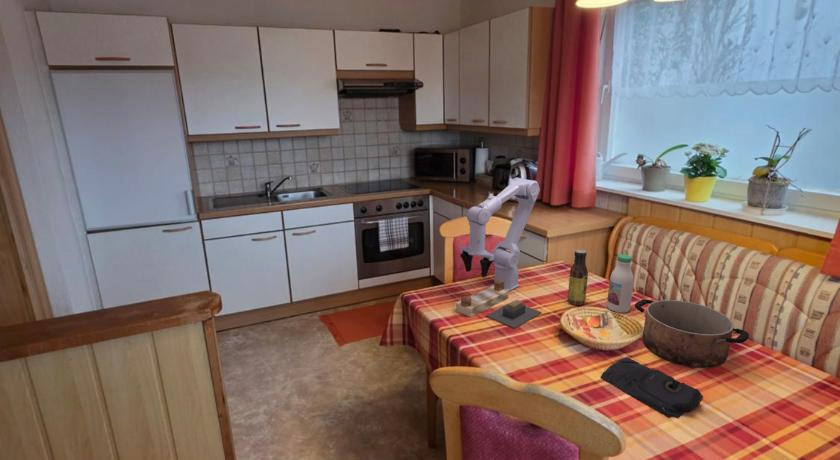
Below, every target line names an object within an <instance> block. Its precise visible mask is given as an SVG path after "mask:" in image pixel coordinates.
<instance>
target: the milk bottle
mask: <svg viewBox="0 0 840 460" xmlns="http://www.w3.org/2000/svg"><path fill="white" fill-rule="evenodd" d="M616 260H617V264H616V266H615V267H614V269H613V271H612V272H611V275H610V278H609V284H608V293H607V301H606V307H607V309H608V310H610V311H611V310H612V311H611V312H614V311H615V312H614V313H621V314H625V313H628V312H630V310H631V305H632V297H633V290H634V274H633V271H632V267H631V264H632V260H633V257H632V256H631V255H629V254H624V253H623V254H621V253H619V254H618V255H617V257H616Z"/></svg>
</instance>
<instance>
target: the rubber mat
mask: <svg viewBox="0 0 840 460" xmlns="http://www.w3.org/2000/svg"><path fill="white" fill-rule="evenodd" d="M508 304H509V303H507V304H505V305H504V306H506V305H508ZM504 306H502V307H500V308H498V309H495V310H494V311H492V312H490V313H488V314H486V315H485V318H488V319H491V320H493V321H495V322H498V323H500V324H502V325H505V326H507V327H510V328H512V329H514V330H515V329H517V328H519V327H520V326H522V325H524V324H525V323H528V322H529V321H531V320H533V319H534V318H537V317H538V316H540V315H541V314H542V311H539V310H537V309H535V308H531V307H529V306H526V307H525V313H524V314H522V315H520V316H519V317H517V318H515V319H511V318H509V317H506V316H504V315H503V307H504Z"/></svg>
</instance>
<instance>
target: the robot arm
mask: <svg viewBox="0 0 840 460" xmlns="http://www.w3.org/2000/svg"><path fill="white" fill-rule="evenodd" d="M540 191H541V189H540V185H539V182H538V181H536V180H532V179H525V178H520V177H514V178H513V179H512V180H510V181H509V185H507V186H506V187H505V188H504V189H503V190H502V191H500V192H499V193H498V194H497V195H496V196H495V195H489V196H487V199H485V200H484V201H483V202H480V203H479V204H478V205H477V206H476V205H475V206H472V207H470V208H469V209H468V211H467V214H466V219H467V221H468V225H469V245H468V246H466V245H462V246H460V250H459V251H460V252H461V253H460V254H459V256H460V258H461V260H462V261H463V265H464V268H465V272H467V273H468V272H471V271H472V265H473V264H472V263H473V259H474V258H473V257H474V256H476V257H479V258H481V259H479V263H480V268H481V270H480V271H481V274H480V275H481V278H486V277H487V276H488V272H489V270H490V267H491V265H492V263H493V265H494V267H495V268H494V282H496V281H498V280H501V281H503V282H504V289H505V290H508V291H509V292H510V291H512V290H514V289H516V288H519V287H520V284H518V283H519V282H518V281H519V268H518V264H519V260H520V255H521V251H520V249H519V247H518V244H519V243H520V239H521V237H522V235H523V233H524V229H525V227H526V225H527V223H528V220H529V218H530V215H531V213H532V210H533V209H534V206H535V203H536V201H537V199H538V196H539V193H540ZM513 197H514V198H515V199H516V200H517V202H518V205H517V206H518V207H517V209H516V210H515V213H514V216H513V218H512V220H511V224H510V226H509V228H508V230H507V232H506V234H505V237H504V240H503V241H500V242H498V243H497V244H496V247H495V248H494V249H493V251H492V253H491V252H489V251H488V250H486V228H487V227H486V224H487V223H488V222H489V221H490V218H491V217H492V215H494V214H495V213H497V212H498V211H499V210H500V209H501V208H502V205H503V203H505V202H507V201H508V200H511V198H513ZM492 286H494V283H492V284H491V285H490V286H489V288H490V287H492Z"/></svg>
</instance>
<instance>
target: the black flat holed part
mask: <svg viewBox="0 0 840 460" xmlns="http://www.w3.org/2000/svg"><path fill="white" fill-rule="evenodd" d="M600 379H602V380H603V381H605V382H606V383H608V384H609V385H612V386H613V387H614V388H616V389H618V390H619V391H621V392H623V393H624V394H626V395H628V396H630V397H631V398H633V399H635V400H636V401H638V402H640V403H641V404H644V405H645V406H647V407H649V408H650V409H653V410H654V411H655V412H657V413H659V414H660V415H663V416H664V417H666V418H671V417H672V418H676V419H680V418H681V417H682V416H683V415H684V414H687V413H691V412H692V411H694V410H695V409H696V408H697V407H698V406H699V405H700V403H701V401H702V399H703V397H704V396H703V394H702V392H700V390H699V389H698V388H694V387H692V386H690V385H688V384H686V383H685V382H680V381H678V380H676V379H675V378H674V377H673V376H671V375H669V374H666V373H665V372H663V371H662V370H659V369H653V368H651V367H648V366H646V365H644V364H642V363H640V362H638V361H636V360H634V359H632V358H630V357H624V358H621V359H619V360H617V361H615V362H613V364H611V365H609V366H608V367H607V368H606V370H604V371H603V372H602V373H601V375H600Z"/></svg>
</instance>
